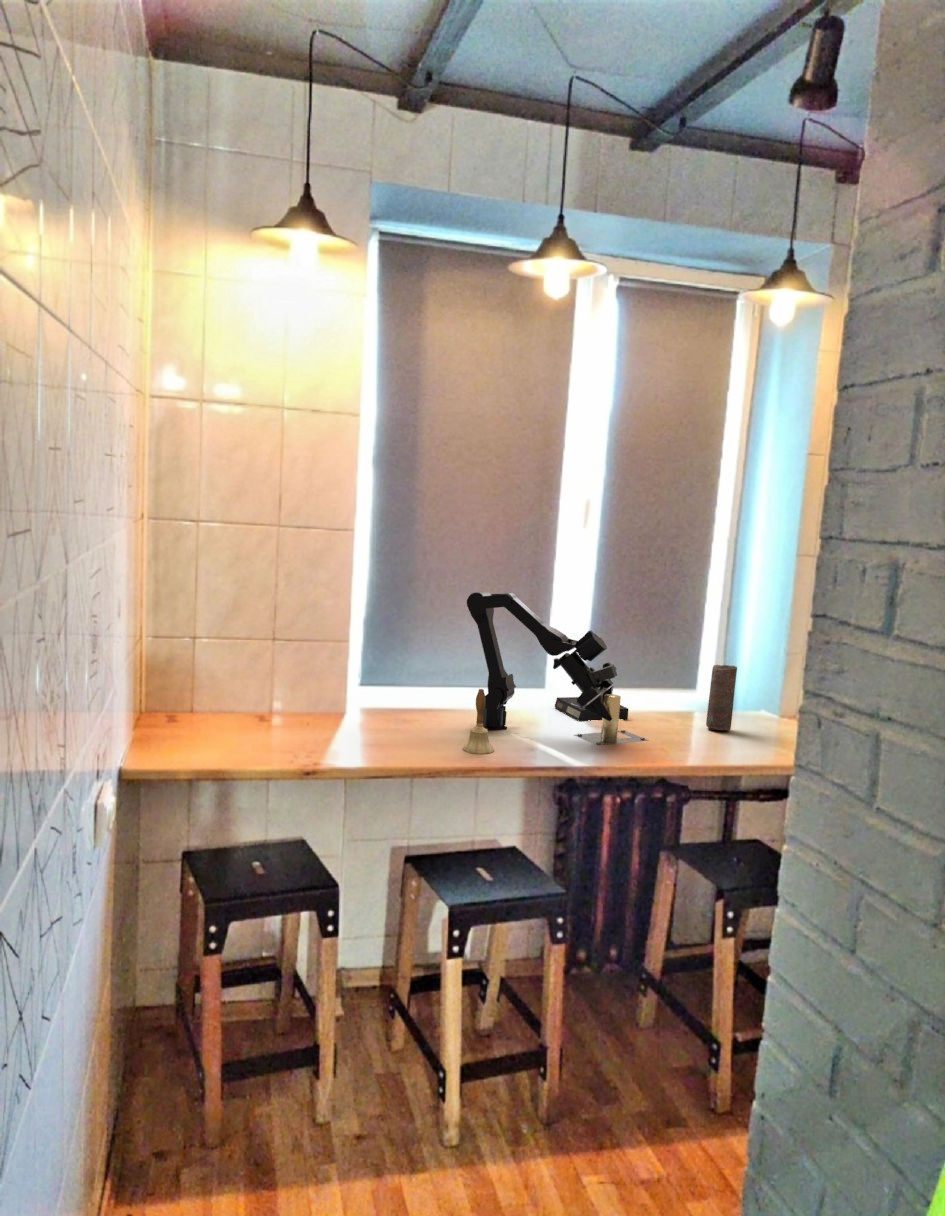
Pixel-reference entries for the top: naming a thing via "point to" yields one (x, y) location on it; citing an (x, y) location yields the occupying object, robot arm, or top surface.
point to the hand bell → (479, 730)
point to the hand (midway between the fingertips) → (614, 716)
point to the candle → (721, 697)
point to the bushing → (611, 727)
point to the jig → (596, 739)
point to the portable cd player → (582, 710)
